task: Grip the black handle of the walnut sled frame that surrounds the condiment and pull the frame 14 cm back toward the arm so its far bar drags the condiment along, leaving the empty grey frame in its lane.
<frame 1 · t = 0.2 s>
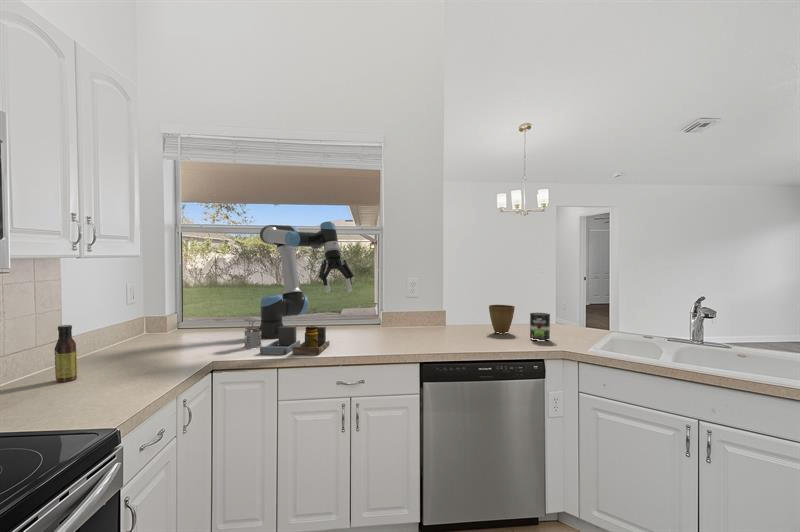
hand: (339, 291, 216), 27 cm above the countertop, tool tilted 15°, fingers open, 13 cm apart
condiment: (309, 352, 202), resting in walnut strip
grey strip: (281, 339, 208), point 5 cm above the countertop, slide at 0.0 cm
walnut strip: (312, 339, 207), point 5 cm above the countertop, slide at 0.0 cm
coffee can: (539, 340, 233), on the countertop
plant pot: (501, 333, 254), on the countertop
sauce bottle: (66, 381, 155), on the countertop
french press: (252, 347, 215), on the countertop
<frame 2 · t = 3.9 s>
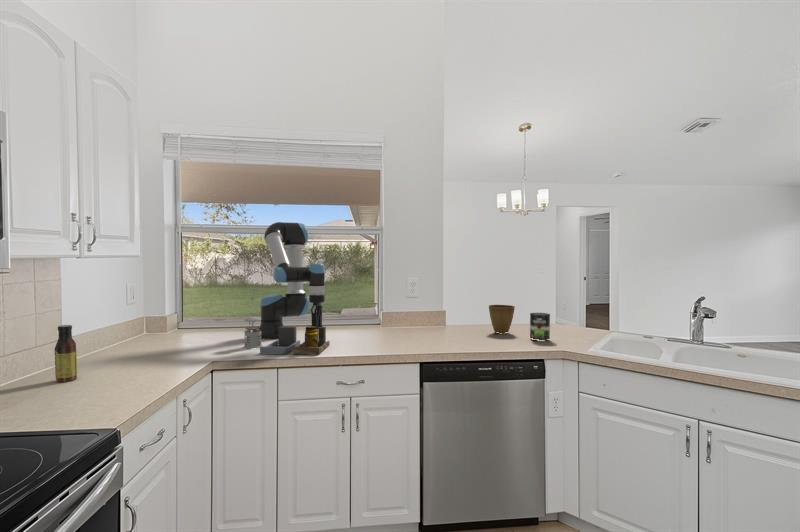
hand: (317, 341, 216), 3 cm above the countertop, tool pointing down, fingers closed on walnut strip, 3 cm apart
walnut strip: (312, 339, 207), point 5 cm above the countertop, slide at 0.0 cm, touching gripper
everything else where it was.
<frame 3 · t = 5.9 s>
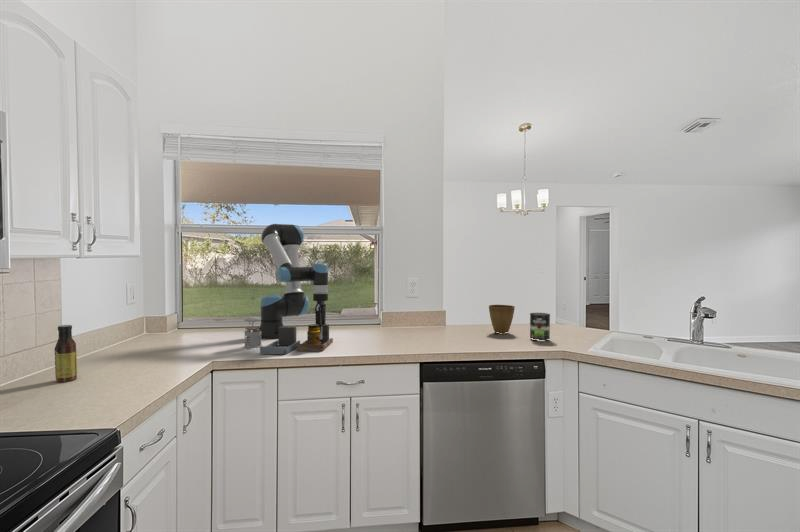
hand: (320, 338, 224), 3 cm above the countertop, tool pointing down, fingers closed on walnut strip, 3 cm apart
condiment: (312, 350, 207), resting in walnut strip
walnut strip: (316, 336, 214), point 5 cm above the countertop, slide at 7.6 cm, touching condiment, gripper
everything else where it was.
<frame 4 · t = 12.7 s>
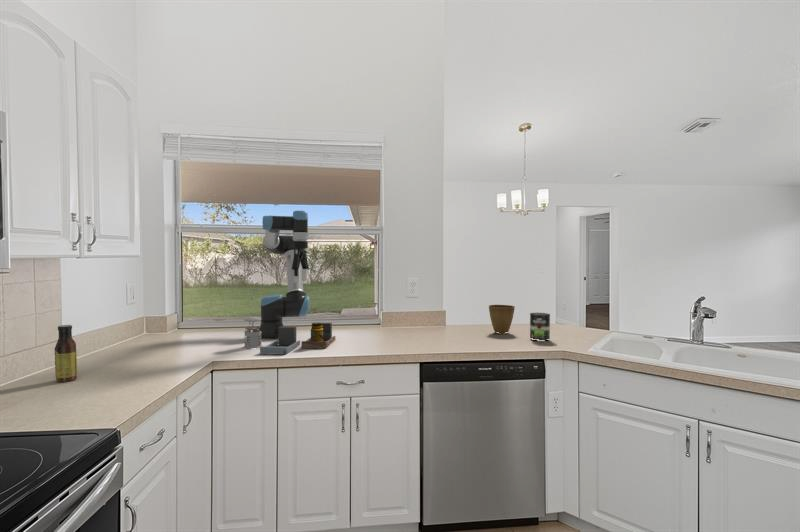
hand: (300, 282, 224), 32 cm above the countertop, tool pointing down, fingers open, 13 cm apart
condiment: (315, 347, 214), resting in walnut strip
walnut strip: (319, 334, 221), point 5 cm above the countertop, slide at 14.0 cm
everything else where it was.
at the end: walnut strip slide at 14.0 cm; condiment inside the target area (2.0 cm from its centre), resting in walnut strip; condiment tilted 0° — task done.
